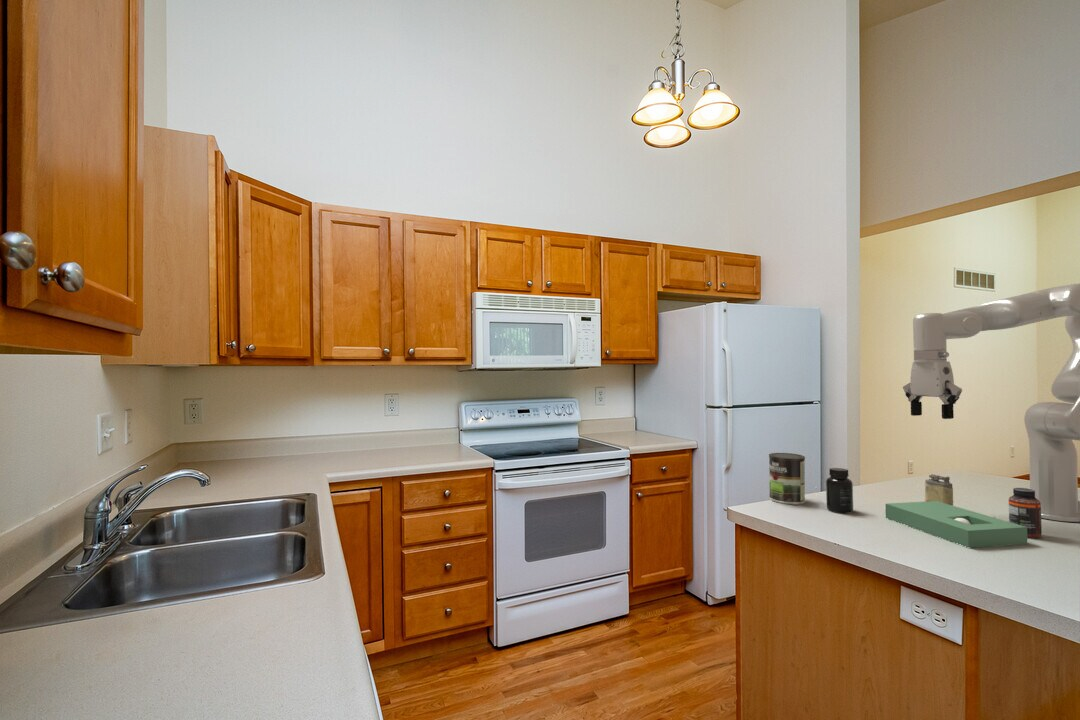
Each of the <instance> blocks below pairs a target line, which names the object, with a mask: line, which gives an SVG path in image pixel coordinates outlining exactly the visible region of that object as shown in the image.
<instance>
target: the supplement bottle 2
mask: <svg viewBox="0 0 1080 720" xmlns="http://www.w3.org/2000/svg"><path fill="white" fill-rule="evenodd" d="M1012 489H1013V492H1012V493H1013V495H1011V496H1009V498H1008V522H1011V523H1015V524H1018V525H1022V526H1025V527H1027V539H1028V538H1031V539H1034V538H1035V539H1037V538H1040V537H1042V534H1043V533H1042V518H1041V503H1040V501H1039V500H1038V499H1036V498H1035V491H1034V490H1032V489H1030V488H1028V487H1027V488H1026V487H1025V488H1024V487H1014V488H1012Z"/></svg>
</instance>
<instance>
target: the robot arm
mask: <svg viewBox="0 0 1080 720" xmlns="http://www.w3.org/2000/svg"><path fill="white" fill-rule="evenodd" d="M1064 317H1065V320H1064V325H1065V330H1066V332H1067V334H1068V336H1069V338H1070V340H1071V343H1072V351H1071V354H1070V356H1069V358H1068V359H1067V361H1065V364H1064V365H1063V367H1062V368H1061V369H1060V371H1059V373H1058V374H1057V376H1056V377H1055V378H1054V381H1052V384H1051V388H1050V390H1051V391H1050V392H1051V393H1052V396H1053V397H1055V398H1056V399H1057V400H1059V401H1062V402H1059V401H1058V402H1057V401H1043V402H1037V403H1034V404H1032V405H1031V406H1029V407H1028V408H1027V409H1026V411H1025V414H1024V418H1023V420H1024V426H1025V429H1026V433H1027V438H1028V444H1029V445H1028V446H1029V489H1032V490H1034V491H1035V498H1036V499H1038V500H1039V501H1040V503H1041V519H1045V520H1051V521H1056V522H1057V521H1058V522H1059V521H1060V522H1066V523H1067V522H1069V523H1072V522H1073V523H1080V500H1079V488H1078V487H1079V485H1078V477H1079V476H1078V451H1077V447H1076V446H1075V444H1074V441H1080V283H1073V284H1067V285H1060V286H1053V287H1049V288H1048V287H1047V288H1045V289H1044V288H1043V289H1040V290H1036V291H1031V292H1028V293H1023V294H1022V293H1021V294H1019V295H1015V296H1010V297H1005V298H1002V299H997V300H993V301H990V302H989V301H988V302H986V303H983V304H982V303H981V304H978V305H975V306H971V307H967V308H961V309H958V310H953V311H949V312H946V313H945V312H944V313H941V312H928V313H918V314H916V315H914V317H913V319H912V331H913V332H912V333H913V335H912V336H913V361H912V364H911V369H910V382H909V383H907V384H905V385H903V387H902V389H903V391H904V393H905V397H906V398H907V400H908V402H909V403H910V416H913V417H915V416H916V417H917V416H922V414H923V405H922V404H923V403H922V401H920V400H922V398H923V397H927V398H928V397H932V398H939V399H940V400H941V402H942V403H941V419H942V420H951V419H954V418H955V417H954V414H955V413H954V405H956V403H957V401H958V400H959V399H960V396H961V393H962V392H963V389H962V387H959V386H958V385H956V384H955V380H954V379H955V378H954V373H953V368H952V365H951V361H948V360H947V359H948V357H950V353H949V352H948V351H947V340H953V339H954V340H955V339H956V340H957V339H967V338H972V337H974V336H976V335H977V334H979V333H980V332H986V331H997V330H1006V329H1013V328H1017V327H1023V326H1027V325H1030V324H1034V323H1035V324H1036V323H1040V322H1045V321H1048V320H1053V319H1056V318H1064ZM1073 440H1074V441H1073Z"/></svg>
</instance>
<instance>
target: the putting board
mask: <svg viewBox="0 0 1080 720" xmlns="http://www.w3.org/2000/svg"><path fill="white" fill-rule="evenodd" d="M887 518H888V519H887ZM956 518H964V519H966V520H968V521H969V522H970V524H971V525H970V524H967V523H964V522H960V521H957V520H954V519H956ZM885 519H887V520H890V519H891V520H890V521H892V520H894V521H893V522H895V521H896V523H898V522H899V523H898V524H901V523H902V524H901V525H903V524H905V526H906V525H908V526H907V527H909V526H911V527H910V528H912V527H914V528H913V529H915V528H916V529H915V530H917V529H919V530H918V531H920V530H922V531H921V532H923V531H924V532H923V533H926V532H927V533H926V534H928V533H930V534H929V535H931V534H932V536H934V535H935V536H934V537H937V536H938V537H937V538H939V537H941V538H940V539H942V538H943V540H945V539H946V540H945V541H948V540H949V541H948V542H950V541H952V542H951V543H953V542H955V543H954V544H956V543H958V544H957V545H959V544H961V545H963V546H962V547H964V546H966V547H965V548H967V547H976V548H987V546H988V547H990V546H991V547H1002V546H1004V547H1005V546H1019V545H1028V537H1027V527H1025V526H1022V525H1018V524H1015V523H1011V522H1009V520H1004V519H1000V518H996V517H994V516H989V515H986V514H983V513H980V512H975V511H973V510H969V509H966V508H962V507H959V506H955V505H953V506H952V505H949V504H945V503H942V502H938V501H926V502H925V501H910V502H889V503H887V502H886V503H885ZM961 545H960V546H961Z"/></svg>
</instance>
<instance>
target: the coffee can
mask: <svg viewBox="0 0 1080 720" xmlns="http://www.w3.org/2000/svg"><path fill="white" fill-rule="evenodd" d="M768 458H769V465H768V466H769V467H768V469H769V498H768V499H769V500H770V501H772V502H775V503H778V504H783V505H784V504H785V505H802V504H805V502H806V497H805V496H806V495H805V493H806V492H805V491H806V489H805V483H806V481H805V477H806V476H805V473H806V472H805V468H806V466H805V463H806V462H805V461H806V460H805V459H806V456H804V455H802V454H798V453H790V452H774V453H773V452H771V453H769V454H768Z"/></svg>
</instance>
